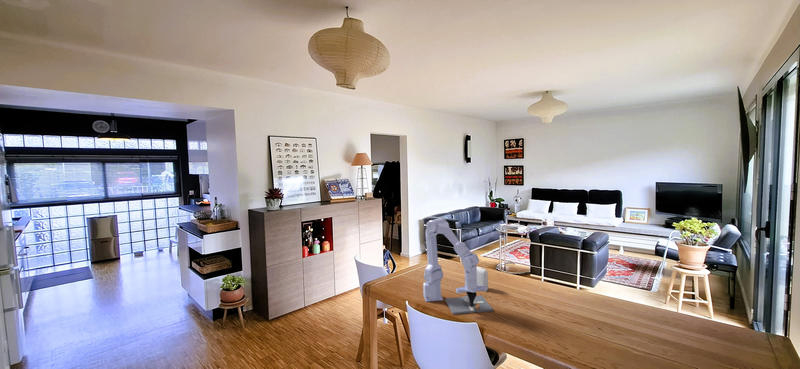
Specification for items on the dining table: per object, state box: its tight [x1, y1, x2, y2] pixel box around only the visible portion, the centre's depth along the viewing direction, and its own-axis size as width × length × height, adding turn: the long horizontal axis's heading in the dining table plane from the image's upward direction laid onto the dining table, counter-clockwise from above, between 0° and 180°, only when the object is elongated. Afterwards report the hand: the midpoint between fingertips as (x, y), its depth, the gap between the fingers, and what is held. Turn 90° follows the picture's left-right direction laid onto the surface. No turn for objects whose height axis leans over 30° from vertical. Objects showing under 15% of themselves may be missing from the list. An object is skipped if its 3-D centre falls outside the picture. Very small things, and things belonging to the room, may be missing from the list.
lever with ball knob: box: [462, 294, 480, 310], centre depth 157 cm, size 13×5×2 cm, turn 18°
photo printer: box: [477, 266, 489, 292], centre depth 181 cm, size 10×4×12 cm, turn 40°
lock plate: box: [444, 295, 494, 315], centre depth 161 cm, size 20×16×2 cm
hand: (471, 306), depth 154 cm, fingers closed, pressing on lever with ball knob
